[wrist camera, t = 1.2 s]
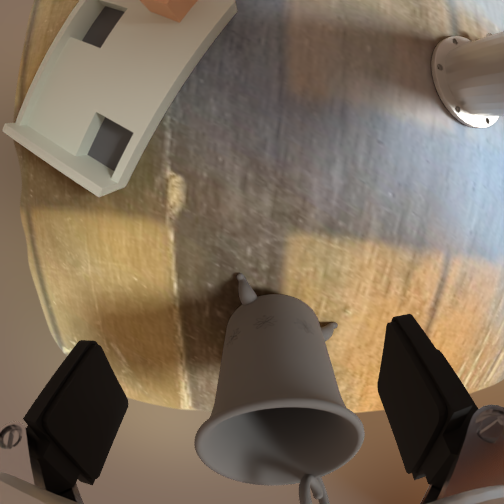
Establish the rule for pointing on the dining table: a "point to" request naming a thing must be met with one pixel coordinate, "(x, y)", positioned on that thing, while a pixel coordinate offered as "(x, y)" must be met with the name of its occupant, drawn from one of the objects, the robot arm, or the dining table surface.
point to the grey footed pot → (278, 399)
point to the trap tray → (111, 86)
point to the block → (170, 8)
